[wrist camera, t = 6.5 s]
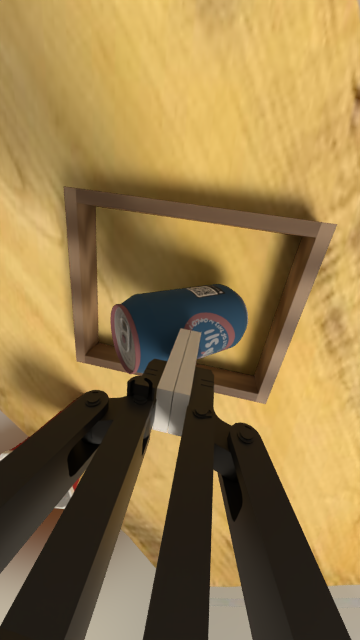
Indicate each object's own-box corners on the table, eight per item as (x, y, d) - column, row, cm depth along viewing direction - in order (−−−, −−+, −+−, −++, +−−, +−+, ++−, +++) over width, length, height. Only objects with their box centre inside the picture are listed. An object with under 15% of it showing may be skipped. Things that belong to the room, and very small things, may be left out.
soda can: (242, 358, 23) (137, 400, 17) (202, 325, 28) (109, 348, 21) (263, 299, 19) (141, 325, 13) (214, 273, 24) (106, 283, 18)
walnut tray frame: (84, 192, 23) (63, 186, 20) (319, 225, 21) (337, 224, 18) (91, 347, 32) (76, 361, 28) (260, 384, 29) (265, 404, 26)
